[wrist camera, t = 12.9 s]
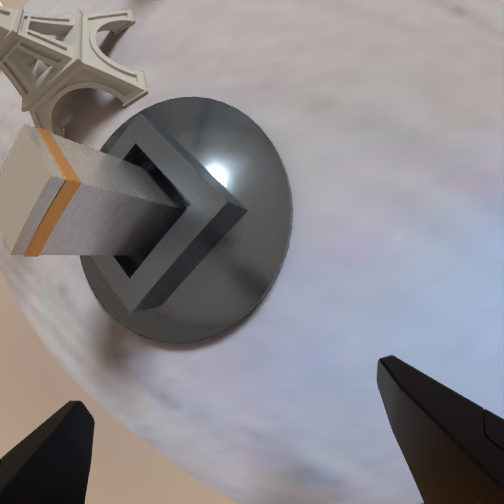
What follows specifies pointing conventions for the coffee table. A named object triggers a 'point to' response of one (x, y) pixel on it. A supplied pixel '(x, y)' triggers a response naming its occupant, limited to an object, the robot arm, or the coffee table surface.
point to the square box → (80, 200)
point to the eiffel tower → (63, 59)
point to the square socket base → (199, 222)
